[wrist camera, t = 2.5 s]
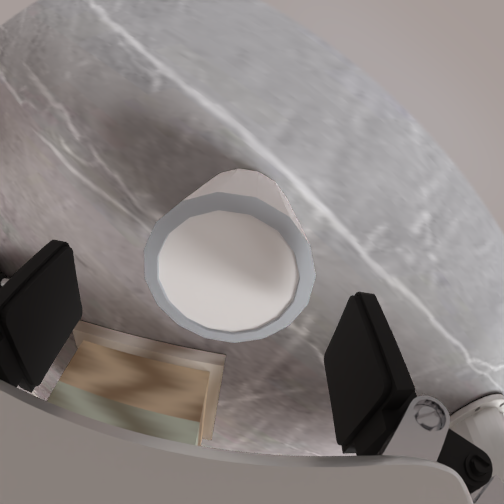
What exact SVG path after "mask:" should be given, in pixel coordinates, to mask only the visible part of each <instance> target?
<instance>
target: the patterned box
mask: <svg viewBox="0 0 504 504" xmlns="http://www.w3.org/2000/svg"><path fill="white" fill-rule="evenodd" d="M73 335H74V339H75V342H76V346H77V351H76V353H75V354H74V356H73V358H72V359H71V361H70V362H69V364H68V366H67V367H66V369H65V371H64V372H63V374H62V376H61V377H60V379H59V381H58V383H57V384H56V386H55V388H54V389H53V391H52V393H51V395H50V396H49V398H48V400H47V402H49V403H52V404H54V405H57V406H59V407H62V408H64V409H67V410H69V411H72V412H75V413H77V414H80V415H83V416H86V417H89V418H92V419H94V420H97V421H100V422H104V423H107V424H110V425H113V426H116V427H120V428H123V429H127V430H130V431H134V432H138V433H142V434H145V435H149V436H154V437H158V438H162V439H167V440H171V441H176V442H181V443H186V444H191V445H197V446H201V441H202V439H207V440H212V434H213V428H214V422H215V416H216V410H217V404H218V398H219V392H220V387H221V381H222V375H223V369H224V363H225V357H226V355H223V354H217V353H212V352H206V351H201V350H196V349H191V348H186V347H182V346H177V345H172V344H168V343H163V342H159V341H155V340H151V339H146V338H142V337H138V336H134V335H130V334H127V333H123V332H119V331H115V330H112V329H108V328H105V327H101V326H98V325H94V324H91V323H87V322H84V321H81V320H79V322H78V323H77V325H76V326H75V328H74V329H73Z"/></svg>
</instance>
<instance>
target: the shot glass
mask: <svg viewBox="0 0 504 504" xmlns="http://www.w3.org/2000/svg"><path fill="white" fill-rule="evenodd" d="M144 271H145V280H146V282H147V284H148V286H149V289H150V291H151V293H152V295H153V297H154V299H155V301H156V303H157V305H158V306H159V307H160V308H161V309H162V310H163V311H164V312H165V313H166V314H167V315H168V316H169V317H170V318H171V319H172V320H173V321H175V322H176V323H177V324H178V325H179V326H181V327H183V328H185V329H187V330H189V331H191V332H193V333H195V334H197V335H199V336H202V337H204V338H207V339H213V340H219V341H225V342H232V343H237V342H244V341H251V340H258V339H264V338H266V337H268V336H270V335H272V334H274V333H276V332H278V331H280V330H282V329H284V328H285V327H287V326H289V325H290V324H291V323H292V322H293V321H294V320H295V318H296V317H297V316H298V315H299V314H300V313H301V312H302V310H303V309H304V308H305V307H306V306H307V305H308V302H309V299H310V295H311V292H312V289H313V285H314V282H315V278H316V273H315V268H314V262H313V257H312V251H311V246H310V244H309V241H308V239H307V237H306V235H305V233H304V231H303V229H302V227H301V225H300V223H299V221H298V219H297V217H296V215H295V213H294V211H293V209H292V207H291V205H290V203H289V201H288V199H287V197H286V196H285V194H284V193H283V192H282V190H281V189H280V187H279V186H278V185H277V183H276V182H275V181H274V180H272V179H270V178H269V177H267V176H265V175H263V174H262V173H260V172H258V171H253V170H246V169H239V168H238V169H234V170H230V171H226V172H222V173H219V174H218V175H216V176H215V177H214V178H212V179H211V180H209V181H208V182H207V183H205V184H204V185H203V186H201V187H200V188H199V189H197V190H196V191H195V192H193V193H192V194H191V195H189V196H188V197H187V198H185V199H184V200H183V201H181V202H180V203H179V204H178V205H176V206H175V207H174V208H173V209H171V210H170V211H169V212H168V213H167V214H165V215H164V216H163V217H162V218H161V219H159V220H158V221H157V222H156V223H155V226H154V228H153V230H152V232H151V235H150V237H149V239H148V241H147V244H146V246H145V248H144Z"/></svg>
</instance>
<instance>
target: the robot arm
mask: <svg viewBox="0 0 504 504" xmlns="http://www.w3.org/2000/svg"><path fill="white" fill-rule="evenodd" d="M81 316H82V305H81V300H80V294H79V289H78V283H77V277H76V270H75V263H74V256H73V250H72V248H71V247H69V244H68V243H67V242H63V241H58V240H52V241H50V242H49V243H48V244H47V245H46V246H44V247H43V248H42V249H41V250H40V251H39V252H38V253H37V254H36V255H34V256H33V257H32V258H31V259H30V260H29V261H28V262H27V263H26V264H25V265H24V266H23V267H22V268H20V269H19V270H18V271H17V272H16V273H15V274H14V275H13V276H12V277H11V278H10V279H9V280H8V281H7V282H6V283H5V284H4V285H3V286H2V287H1V288H0V504H504V416H503V413H504V396H503V395H502V394H493V395H489V396H486V397H483V398H481V399H478V400H476V401H474V402H472V403H470V404H468V405H467V406H465V407H463V408H461V409H460V410H458V411H457V412H455V413H454V414H452V415H451V416H450V415H449V412H448V410H447V408H446V407H445V406H444V405H443V403H442V402H440V401H439V400H438V399H436V398H434V397H431V396H426V395H422V396H418V397H417V396H416V393H415V387H414V385H413V382H412V380H411V377H410V375H409V372H408V369H407V367H406V364H405V362H404V360H403V357H402V355H401V352H400V350H399V348H398V345H397V343H396V340H395V338H394V336H393V334H392V331H391V329H390V327H389V324H388V322H387V320H386V318H385V316H384V313H383V311H382V309H381V307H380V305H379V302H378V300H377V298H376V296H375V295H374V294H370V293H363V292H357V293H356V294H355V296H350V298H349V300H348V302H347V305H346V307H345V309H344V312H343V314H342V317H341V319H340V321H339V323H338V326H337V328H336V330H335V333H334V335H333V337H332V339H331V341H330V344H329V346H328V348H327V350H326V352H325V356H324V365H325V370H326V376H327V382H328V388H329V394H330V400H331V407H332V413H333V420H334V426H335V433H336V440H337V443H338V445H342V451H343V454H344V453H356V455H357V456H289V455H271V454H258V453H247V452H238V451H230V450H223V449H216V448H209V447H203V446H197V445H191V444H186V443H181V442H176V441H171V440H167V439H162V438H158V437H154V436H149V435H145V434H142V433H138V432H134V431H130V430H127V429H123V428H120V427H116V426H113V425H110V424H107V423H104V422H100V421H97V420H94V419H92V418H89V417H86V416H83V415H80V414H77V413H75V412H72V411H69V410H67V409H64V408H62V407H59V406H57V405H54V404H52V403H49V402H47V401H45V400H42V399H40V398H38V397H36V396H33V395H31V394H29V393H27V392H25V391H23V390H21V389H18V388H16V387H17V386H18V385H19V386H20V387H21V388H23V389H25V390H27V391H29V392H31V393H32V391H33V390H34V388H35V386H38V385H40V383H41V382H42V380H43V378H44V376H45V375H46V373H47V371H48V370H49V368H50V366H51V365H52V363H53V361H54V360H55V358H56V356H57V355H58V353H59V351H60V350H61V348H62V347H63V345H64V343H65V342H66V340H67V339H68V337H69V336H70V334H71V332H72V331H73V329H74V328H75V326H76V325H77V323H78V322H79V320H80V319H81Z"/></svg>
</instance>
